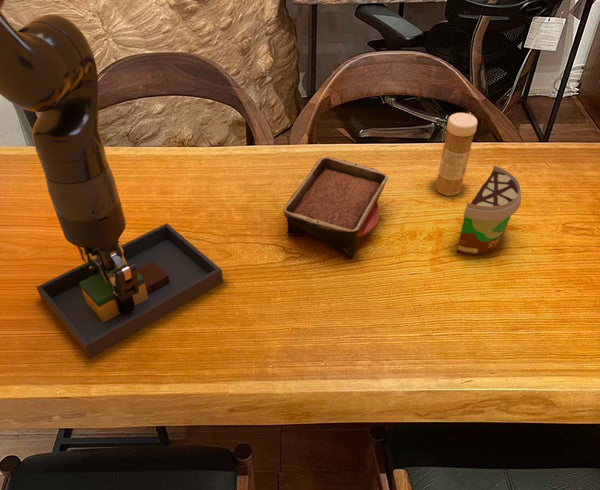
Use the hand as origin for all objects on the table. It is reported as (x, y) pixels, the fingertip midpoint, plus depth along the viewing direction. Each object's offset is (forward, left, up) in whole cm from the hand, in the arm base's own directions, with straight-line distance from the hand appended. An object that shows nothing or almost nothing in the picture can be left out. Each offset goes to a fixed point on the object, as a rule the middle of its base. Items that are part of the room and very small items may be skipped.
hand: (117, 298), depth 82 cm
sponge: (0, 0, 0) cm, 0 cm away
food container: (+50, -27, -1) cm, 57 cm away
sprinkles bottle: (+57, -14, -1) cm, 58 cm away
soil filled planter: (+35, -8, -1) cm, 36 cm away
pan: (+3, 0, -1) cm, 3 cm away
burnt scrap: (+6, 0, 0) cm, 6 cm away
